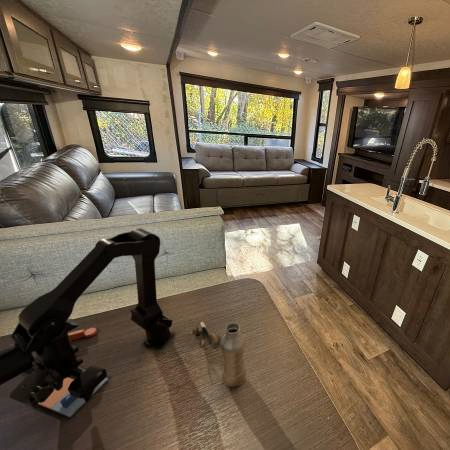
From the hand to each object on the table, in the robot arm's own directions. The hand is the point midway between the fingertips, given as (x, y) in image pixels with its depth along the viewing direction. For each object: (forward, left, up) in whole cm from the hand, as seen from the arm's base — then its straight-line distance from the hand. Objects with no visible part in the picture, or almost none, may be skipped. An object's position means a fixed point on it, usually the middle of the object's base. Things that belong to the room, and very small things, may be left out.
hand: (73, 394), depth 63 cm
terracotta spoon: (+18, -15, -2) cm, 23 cm away
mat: (+3, -1, -2) cm, 4 cm away
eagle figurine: (-21, -26, -2) cm, 33 cm away
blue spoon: (0, -1, -1) cm, 2 cm away
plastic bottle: (-36, -17, -2) cm, 40 cm away
